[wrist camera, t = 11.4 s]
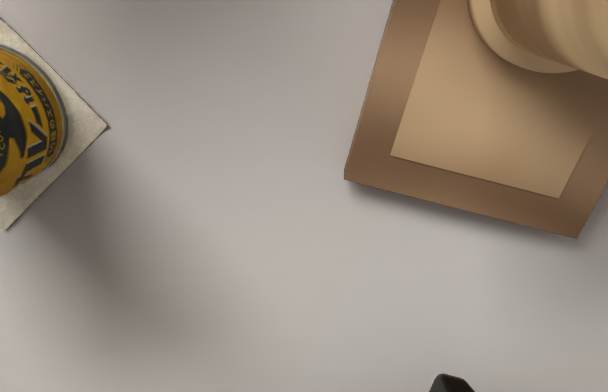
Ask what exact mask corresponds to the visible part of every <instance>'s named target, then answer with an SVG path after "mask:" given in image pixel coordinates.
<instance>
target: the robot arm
mask: <svg viewBox="0 0 608 392" xmlns="http://www.w3.org/2000/svg"><path fill="white" fill-rule="evenodd" d="M429 392H474V390H473V389H472V388H471V387H470V386H469V384H468V383H467V382H466V381H465V380H464V379H462V378H459V377H455V376H451V375H447V374H439V375H438V376H437V377H436V378H435V380H434V382H433V384H432V387H431V389H430V391H429Z"/></svg>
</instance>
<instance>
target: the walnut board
mask: <svg viewBox="0 0 608 392" xmlns="http://www.w3.org/2000/svg"><path fill="white" fill-rule="evenodd" d="M344 179H345V180H349V181H352V182H356V183H360V184H364V185H368V186H372V187H376V188H380V189H384V190H388V191H392V192H396V193H399V194H403V195H407V196H411V197H415V198H419V199H423V200H427V201H431V202H435V203H439V204H443V205H446V206H450V207H454V208H458V209H462V210H466V211H470V212H474V213H478V214H482V215H486V216H490V217H493V218H497V219H501V220H505V221H509V222H513V223H517V224H521V225H525V226H529V227H533V228H536V229H540V230H544V231H548V232H552V233H556V234H560V235H564V236H568V237H572V238H576V239H577V237H578V236H579V234H580V232H581V230H582V228H583V226H584V225H585V223H586V221H587V219H588V217H589V215H590V214H591V212H592V210H593V208H594V206H595V204H596V203H597V201H598V199H599V197H600V195H601V193H602V192H603V190H604V188H605V186H606V184H607V182H608V79H605V78H602V77H599V76H596V75H593V74H590V73H587V72H584V71H581V70H575V71H570V72H563V73H542V72H536V71H531V70H528V69H525V68H521V67H519V66H517V65H514V64H512V63H510V62H508V61H506V60H504V59H502V58H501V57H499V56H498V55H496V54H495V53H494V52H492V51H491V50H490V49H489V48H488V47H487V46H486V45H485V43H484V42H483V41H482V40H481V38H480V37H479V35H478V34H477V32H476V30H475V28H474V26H473V23H472V21H471V18H470V15H469V10H468V6H467V0H393V3H392V6H391V10H390V13H389V17H388V20H387V24H386V27H385V31H384V34H383V37H382V41H381V44H380V48H379V51H378V55H377V58H376V62H375V65H374V69H373V72H372V75H371V79H370V82H369V86H368V89H367V93H366V96H365V100H364V103H363V107H362V110H361V113H360V117H359V120H358V124H357V127H356V131H355V134H354V138H353V141H352V145H351V148H350V151H349V155H348V158H347V162H346V165H345V169H344Z"/></svg>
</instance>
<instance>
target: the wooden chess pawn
mask: <svg viewBox="0 0 608 392" xmlns="http://www.w3.org/2000/svg"><path fill="white" fill-rule="evenodd" d="M467 6H468V10H469V15H470V18H471V21H472V23H473V26H474V28H475V30H476V32H477V34H478V35H479V37H480V38H481V40H482V41H483V42H484V43H485V45H486V46H487V47H488V48H489V49H490V50H491V51H492V52H494V53H495V54H496V55H498V56H499V57H501V58H502V59H504V60H506V61H508V62H510V63H512V64H514V65H517V66H519V67H521V68H525V69H528V70H531V71H536V72H542V73H563V72H570V71H575V70H581V71H584V72H587V73H590V74H593V75H596V76H599V77H602V78H605V79H608V0H467Z"/></svg>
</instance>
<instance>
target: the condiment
mask: <svg viewBox="0 0 608 392" xmlns="http://www.w3.org/2000/svg"><path fill="white" fill-rule="evenodd" d="M106 126H107V124H106V123H105V122H104V121H103V120H102V119H101V118H100V117H99V116H98V115H97V114H96V113H95V112H94V111H93V110H92V109H91V108H90V107H89V106H88V105H87V103H86V102H85V101H84V100H82V99H81V98H80V97H79V96H78V95H77V93H76V92H75V91H74V90H73V89H72V88H71V87H70V86H69V85H68V84H67V83H66V82H65V81H64V80H63V79H62V78H61V77H60V76H59V75H58V74H57V73H56V72H55V71H54V70H53V69H52V68H51V67H50V66H49V65H48V64H47V63H46V62H45V61H44V60H43V59H42V58H41V57H40V56H39V55H38V54H37V53H36V52H35V51H34V50H33V49H32V48H31V47H30V46H29V45H28V44H27V43H26V42H25V41H24V40H23V39H22V38H21V37H20V36H19V35H18V34H17V33H16V32H15V31H13V30H12V29H11V28H10V27H9V26H8V25H7V24H6V23H5V22H3V21H2V20H1V19H0V228H1V229H2V230H4V231H5V230H6V229H7V228H8V227H9V226H10V225H11V224H12V222H13V221H14V220H15V219H17V218H18V217H19V216H20V215H21V214H22V212H23V211H24V210H25V209H26V208H27V207H28V206H29V205H30V204H31V203H32V202H33V201H34V200H35V199H36V198H37V197H38V196H39V195H40V194H41V193H42V192H43V191H44V190H45V189H46V188H47V187H48V186H49V185H50V184H51V183H52V182H53V181H54V180H55V179H56V178H57V177H58V176H59V175H60V174H61V173H62V172H63V171H64V170H65V169H66V168H67V167H68V166H69V165H70V164H71V163H72V162H73V161H74V160H75V159H76V158H77V157H78V156H79V155H80V154H81V153H82V152H83V151H84V150H85V149H86V148H87V146H88V145H89V144H90V143H91V142H92V141H93V140H94V139H95V138H96V137H97V136H98V135H99V134H100V133H101V132H102V131H103V130H104V129H105V128H106Z"/></svg>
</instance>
